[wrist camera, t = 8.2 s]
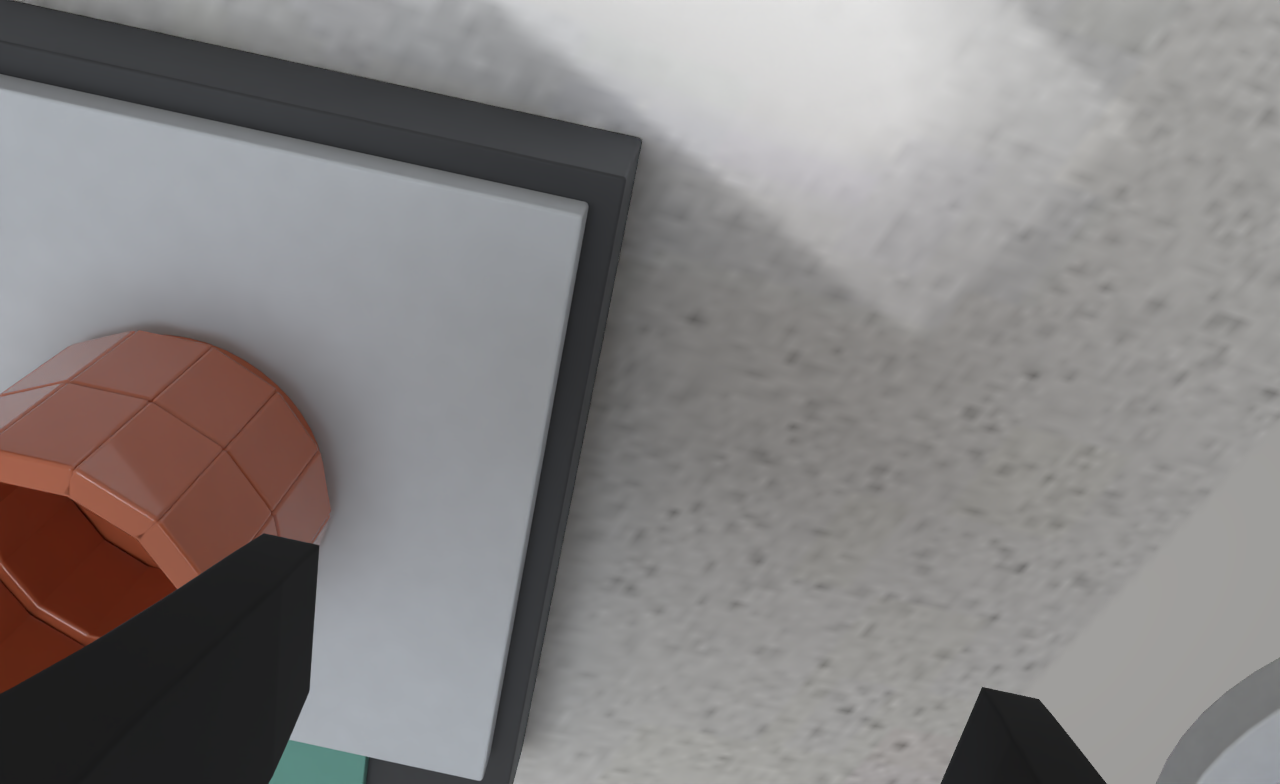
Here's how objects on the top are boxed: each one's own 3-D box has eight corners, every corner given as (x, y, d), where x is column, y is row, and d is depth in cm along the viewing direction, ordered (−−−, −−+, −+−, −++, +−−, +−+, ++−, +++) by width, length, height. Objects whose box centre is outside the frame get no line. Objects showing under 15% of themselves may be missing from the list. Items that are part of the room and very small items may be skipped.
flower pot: (332, 617, 20) (227, 804, 16) (43, 554, 20) (-134, 725, 16) (353, 359, 18) (236, 503, 14) (26, 288, 18) (-186, 411, 14)
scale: (522, 748, 26) (490, 872, 23) (-7, 634, 26) (-114, 742, 23) (642, 138, 19) (621, 192, 16) (-67, -18, 19) (-231, 5, 16)
